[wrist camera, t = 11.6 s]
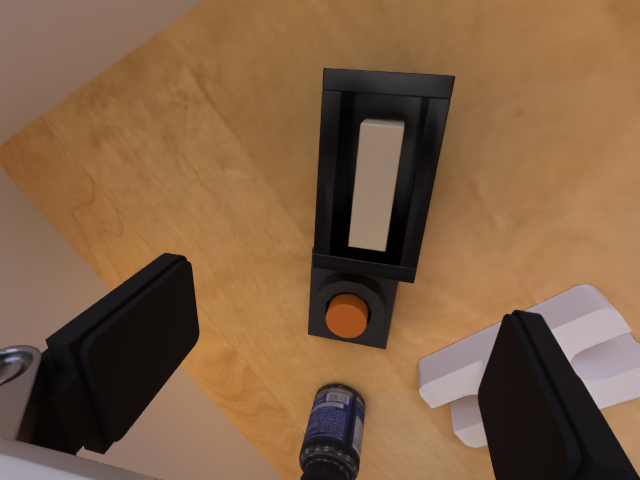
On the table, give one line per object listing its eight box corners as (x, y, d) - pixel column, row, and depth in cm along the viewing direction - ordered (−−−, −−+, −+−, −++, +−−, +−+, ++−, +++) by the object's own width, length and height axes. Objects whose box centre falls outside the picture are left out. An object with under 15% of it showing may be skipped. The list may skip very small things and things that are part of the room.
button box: (317, 238, 34) (307, 257, 30) (401, 250, 32) (401, 271, 29) (312, 321, 38) (303, 346, 35) (386, 335, 37) (384, 362, 33)
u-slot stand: (644, 355, 32) (749, 475, 22) (465, 420, 39) (484, 530, 30) (590, 279, 30) (678, 374, 20) (413, 362, 38) (416, 459, 28)
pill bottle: (306, 400, 43) (278, 494, 34) (332, 373, 41) (310, 466, 31) (348, 426, 44) (332, 526, 34) (376, 401, 41) (368, 502, 31)
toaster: (343, 70, 27) (323, 68, 20) (441, 76, 26) (455, 75, 19) (331, 228, 33) (312, 267, 26) (411, 239, 32) (413, 283, 25)
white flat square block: (360, 207, 31) (348, 246, 24) (371, 111, 27) (360, 123, 20) (389, 211, 30) (385, 252, 23) (404, 114, 27) (404, 126, 20)
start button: (330, 290, 32) (326, 301, 30) (370, 297, 31) (368, 308, 29) (328, 322, 33) (324, 334, 32) (366, 329, 33) (364, 341, 31)
